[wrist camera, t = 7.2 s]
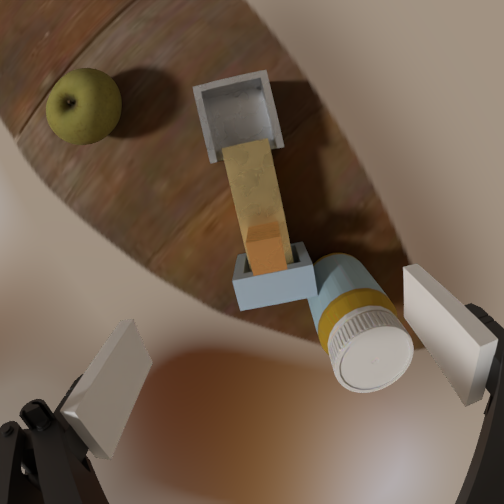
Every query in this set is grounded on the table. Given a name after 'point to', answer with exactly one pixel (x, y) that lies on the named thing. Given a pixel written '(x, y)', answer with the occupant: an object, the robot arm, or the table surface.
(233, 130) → the sleeve
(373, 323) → the bottle
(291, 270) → the socket block
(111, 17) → the table surface
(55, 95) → the apple
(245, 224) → the yellow orange l-shaped block
